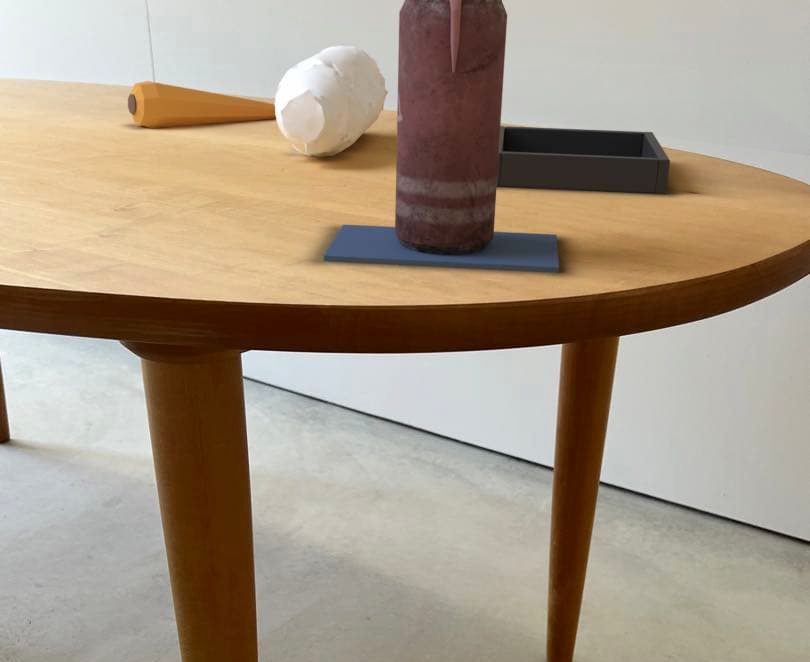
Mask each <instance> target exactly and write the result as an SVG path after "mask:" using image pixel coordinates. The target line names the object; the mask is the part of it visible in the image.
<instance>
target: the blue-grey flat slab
mask: <svg viewBox="0 0 810 662" xmlns="http://www.w3.org/2000/svg"><path fill="white" fill-rule="evenodd" d="M341 225H342V226H341V227H340V228H339V230H338V232H337V233H336V235H335V237H334V238H333V240H332V241H331V242H330V245H329V246H328V248H327V249H326V251H325V252H324V254H323V257H322V259H323V262H329V263H330V262H331V263H353V264H369V265H370V264H371V265H392V266H411V267H432V268H452V269H453V268H454V269H471V270H472V269H473V270H493V271H513V272H514V271H515V272H531V273H550V274H552V273H553V274H559V273H560V259H559V249H558V248H559V247H558V239H557V234H552V233H551V234H550V233H549V234H548V233H533V232H531V233H530V232H511V231H509V232H507V231H494V235H493V239H492V240H491V242H490V243H489V245H488V246H487V248H485V249H484V250H482V251H479V252H475V253H469V254H461V255H440V254H429V253H422V252H417V251H413V250H409V249H407V248H405V247H403V246H402V245H401V243H400V241H399V240H398V238H397V236H396V234H395V226H383V225H381V226H380V225H363V224H362V225H361V224H356V225H355V224H341Z"/></svg>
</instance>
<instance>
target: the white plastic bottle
mask: <svg viewBox="0 0 810 662" xmlns="http://www.w3.org/2000/svg"><path fill="white" fill-rule="evenodd" d="M378 63H379V62H378V61H377V60H376V59H375V58H374V57H371V56H370V55H369V54H368V53H367V52H366V51H365V50H363V49H359V48H358V47H356V46H354V45H349V46H346V45H344V44H340V45H333V46H329V47H326V48H325V49H322V50H321V51H319V52H318V53H316V54H314V55H312V56H310V57H308V58H306V59H303V60H302V61H300V62H298V63H297V64H296V65H294V66H293V67H291V68H289V69H288V70H287V71H286V73H285V74H284V76H283V77H282V78H281V80H280V82H279V83H278V85H277V88H276V92H275V98H274V105H275V115H276V118H275V120H276V123H277V125H278V130H279V132H281V134H282V135H283V137H284V138H285V140H286V141H288V142H289V143H290V145H292V147H293V148H294V149H295V151H297V152H300V153H301V154H302V155H304V156H307V157H320V158H324V157H325V158H326V157H333V156H335V155H337V154H339V153H341V152H343V151H344V150H346V149H347V148H349V147H351V146H352V145H353V144H354V143H355V142H356V141H357V140H358V139H360V137H361V136H362V135H363V134H364V133H365V132H366V131H367V130H369V129H370V128H371V127H372V126H373V124H375V123H376V122H377V120H378V119H379V117H380V114H381V113H382V111H384V107H385V101H386V97H387V95H388V94H389V91H388V90H386V79H385V77H384V76H383V74H382V73H381V71H380V68H379V67H378Z"/></svg>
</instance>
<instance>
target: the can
mask: <svg viewBox="0 0 810 662" xmlns="http://www.w3.org/2000/svg"><path fill="white" fill-rule="evenodd" d="M398 12H399V13H398V14H399V15H398V57H397V58H398V59H397V60H398V61H397V62H398V63H397V66H398V67H397V111H396V113H397V115H396V163H395V166H396V167H395V212H394V213H395V215H394V216H395V217H394V227H395V234H396V236H397V238H398V240H399V241H400V243H401V245H402V246H403V247H405V248H407V249H409V250H413V251H417V252H422V253H429V254H440V255H461V254H469V253H475V252H479V251H482V250H484V249H485V248H487V246H488V245H489V243H490V242H491V240H492V239H493V235H494V232H495V219H496V218H495V217H496V202H497V188H498V187H497V172H498V156H499V140H500V126H501V124H502V108H503V104H502V103H503V93H504V91H503V90H504V75H505V60H506V59H505V58H506V45H507V44H506V41H507V28H508V13H507V11H506V8H505V5H504V3H503V0H404V2H403V3H402V6H401V8H400V10H399V11H398Z"/></svg>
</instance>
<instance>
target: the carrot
mask: <svg viewBox="0 0 810 662" xmlns="http://www.w3.org/2000/svg"><path fill="white" fill-rule="evenodd" d="M127 108H128V112H129V114H131V116H132V120H133V123H134V124H136V125H139V126H142V127H145V128H149V129H156V128H168V127H182V126H183V127H185V126H197V125H208V124H209V125H210V124H223V123H234V122H247V121H259V120H272V119H276V115H275V103H269V102H265V101H261V100H256V99H255V100H254V99H250V98H244V97H240V96H239V97H238V96H232V95H227V94H222V93H216V92H211V91H206V90H200V89H195V88H189V87H183V86H179V85H178V86H177V85H172V84H167V83H161V82H156V81H150V80H146V81H141V82H137V83H134V84H133V87H132V89H131V91H130V93H129V95H128V98H127Z"/></svg>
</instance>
